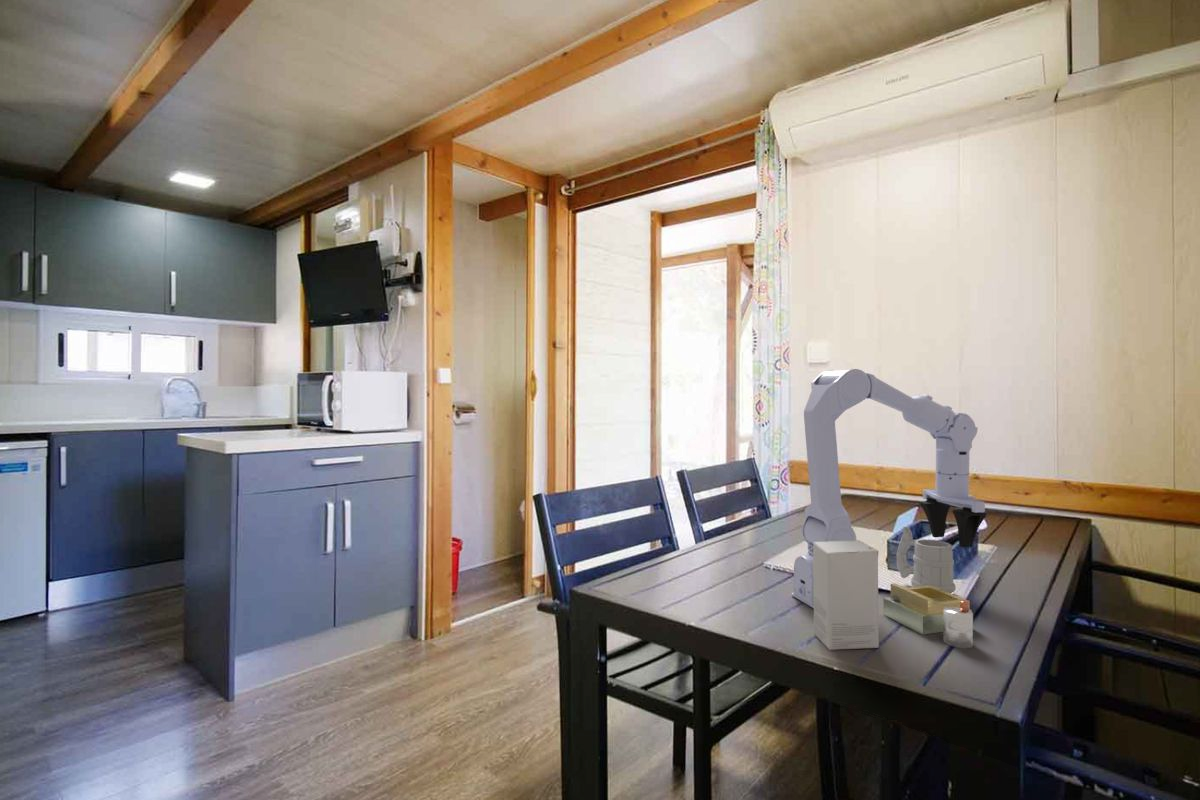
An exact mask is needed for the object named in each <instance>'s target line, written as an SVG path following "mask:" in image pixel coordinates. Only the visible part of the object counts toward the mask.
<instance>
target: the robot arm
mask: <svg viewBox="0 0 1200 800" xmlns="http://www.w3.org/2000/svg"><path fill="white" fill-rule="evenodd" d="M810 385H811V391H810V394H809V396H808V399H807V402H806V404H805V407H804V410H803V419H804V422H803V423H804V433H805V434H804V436H805V444H806V445H805V446H806V458H807V467H808V481H809V482H808V484H809V493H810V503H809V505H808V506H807V507H805V509H804V520H803V523H802V525H801V536H802V539H804V541H805V542H806V543H807V552H806V553H805V554H804V555H800V556H797V557H796V558H795V560H794V564H793V592H791V596H793V598H795V599H798V600H799V601H801V602H803V604H805V605H808V606H809V607H811V608H813V609H814V574H813V542H830V541H853V540H857V535H856V532H855V531H854V528H853V527H852V524H851V517H850V515H849V513H848V512H847V510H846V508H845V507H844V506H843V503H842V492H841V481H840V480H841V478H840V467H839V457H838V456H839V455H838V443H837V432H836V430H837V429H836V421H837V420H838V419H839V418H840V417H841V415H843V413H844V412H846V411H847V410H849V409H851V408H853V407H854V406H856V405H858V404H860V403H862V402H863V401H865V400H866V399H867V400H868V399H870V400H873V401H875V402H877V403H880V404H881V405H884V406H887V407H888V408H891V409H893V410H897V411H898V412H901V413H902V417H903V419H904V421H905V422H907V423H909V424H911V425H913V426H916V427H917V428H919V429H921V430H924V431H926V432H928V433H929V434H930V436H931V437H932V439H934V440H935V489H931V488H927V489H922V499H924V500H925V501H920V504H919V505H920V507H921V508H922V510H923V512H924V513H925V514H924V515H926V518H927V521H928V524H929V529H930V532H931V535H932V537H933V538H944V537H945V533H946V524H947V517H948V513H949V510H950V507H951V506H954V507H957V508H961V509H952V514H953V516H954V518H955V521H956V522H955V523H956V526H957V533H958V534H957V535H958V543H959V547H960V548H972V547H973V544H974V541H975V537H976V534H977V532H978V530H979V528H980V526H981V524H982V523H983V521H984V520H985V519H986V517H987V512H986V509H985V507H986V502H985V501H982V500H979V499H976V498H974V495H972V494H970V451H971V449H972V448H973V447H972V446H973V441H974V439H975V438H976V436H977V434H978V427H976V423H975V421H974V420H973V418H972V417H971V416H970V415H968V414H966V413H964V412H954V411H953V409H952V407H951V406H949V405H942V404H940V403H938V402H936V401H934V400H933V396H931V395H929V394H922V395H920V394H919V395H918V394H917V395H914V396H909V395H908V394H907V393H904V392H903V391H901V390H899V389H897V388H895V387H894V386H892V385H890V384H888V383H886V382H885V381H883V380H881V379H879V378H877V376H875V375H874V374H871V373H867V372H865V371H863V370H862V369H859V368H851V369H845V370H842V369H841V370H833V369H832V370H831V369H830V370H828V369H827V370H825V371H823V372H820V374H819V375H818V376H816V378H814V380H812V382H811V383H810Z"/></svg>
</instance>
